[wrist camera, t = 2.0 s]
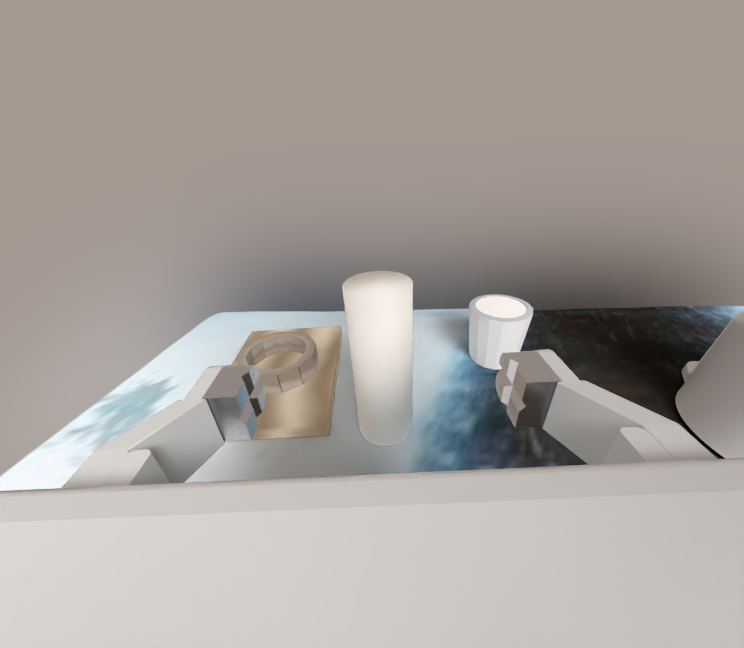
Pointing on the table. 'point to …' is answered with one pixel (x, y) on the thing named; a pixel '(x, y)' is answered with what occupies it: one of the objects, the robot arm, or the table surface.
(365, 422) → the paper roll
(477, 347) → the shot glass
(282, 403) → the roll holder
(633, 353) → the table surface
